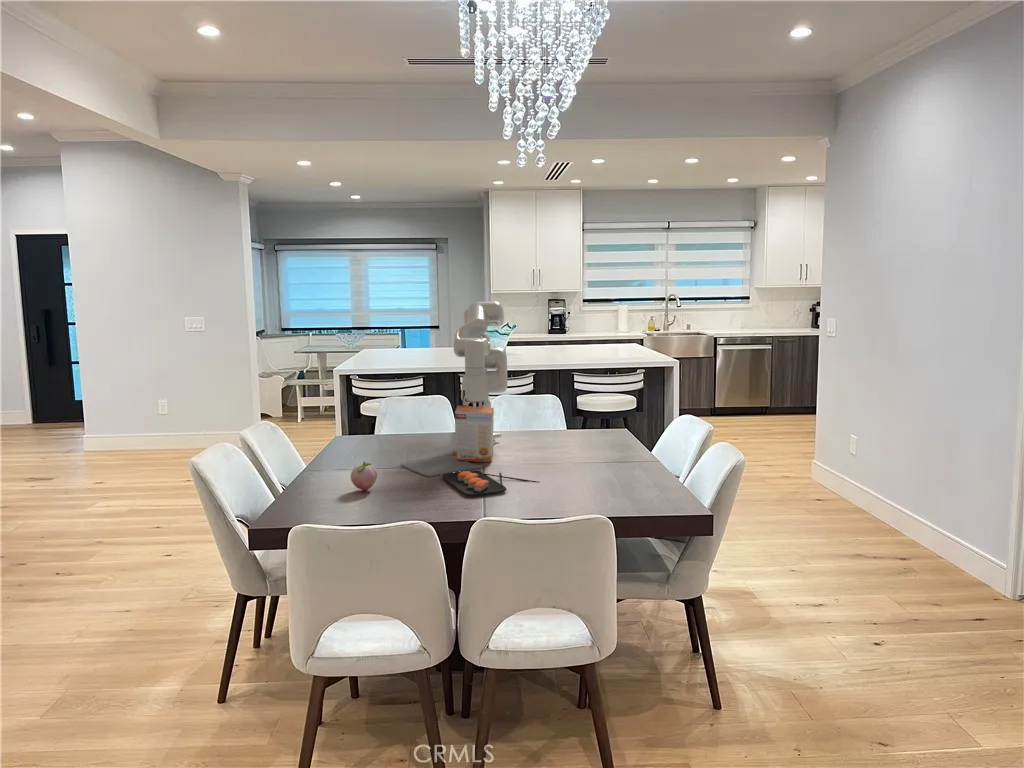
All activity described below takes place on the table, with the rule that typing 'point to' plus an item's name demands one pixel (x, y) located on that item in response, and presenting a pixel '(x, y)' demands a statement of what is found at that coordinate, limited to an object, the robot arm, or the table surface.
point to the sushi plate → (476, 482)
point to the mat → (439, 466)
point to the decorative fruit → (364, 476)
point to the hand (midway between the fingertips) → (475, 419)
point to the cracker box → (474, 433)
